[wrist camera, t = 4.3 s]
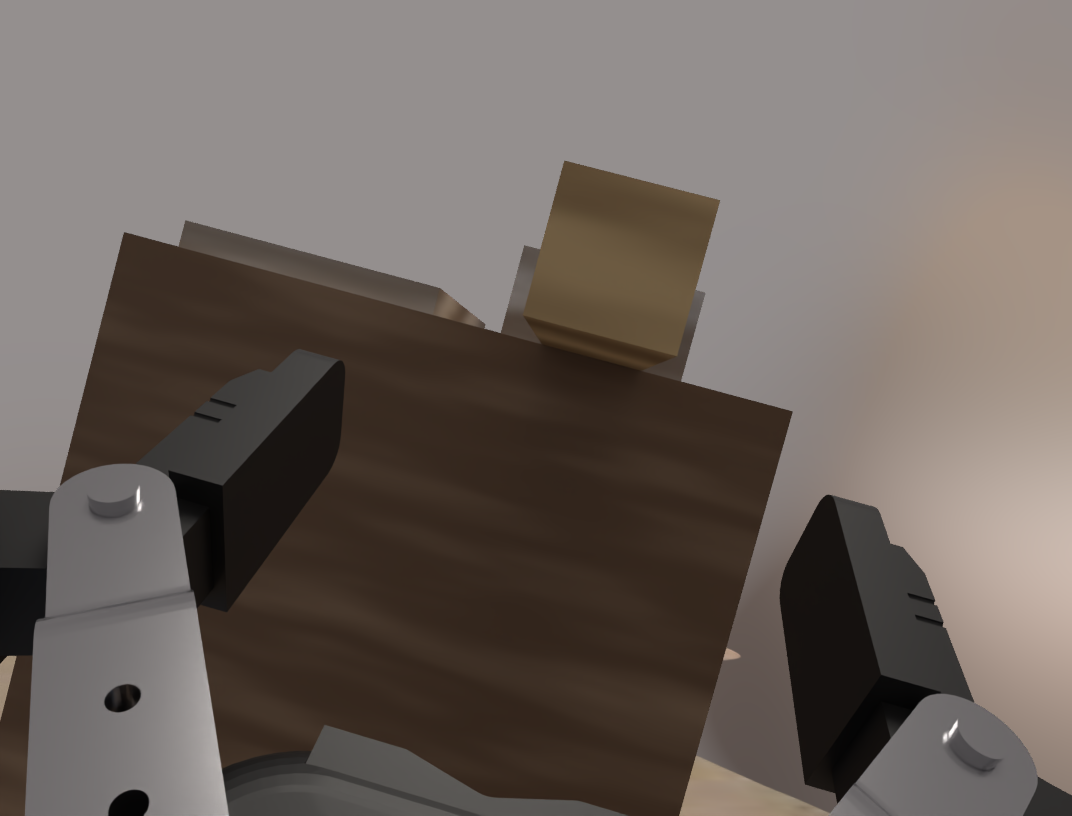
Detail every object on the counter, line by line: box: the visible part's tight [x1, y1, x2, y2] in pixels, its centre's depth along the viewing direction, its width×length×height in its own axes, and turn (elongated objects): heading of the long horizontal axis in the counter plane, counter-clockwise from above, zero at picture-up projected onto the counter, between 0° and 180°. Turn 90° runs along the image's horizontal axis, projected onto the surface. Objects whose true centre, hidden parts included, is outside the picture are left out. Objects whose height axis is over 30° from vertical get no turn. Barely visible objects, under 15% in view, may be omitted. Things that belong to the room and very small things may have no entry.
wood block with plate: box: [501, 161, 720, 381], centre depth 27 cm, size 22×9×5 cm, turn 177°
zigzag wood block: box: [0, 221, 792, 816], centre depth 33 cm, size 14×24×33 cm, turn 87°
